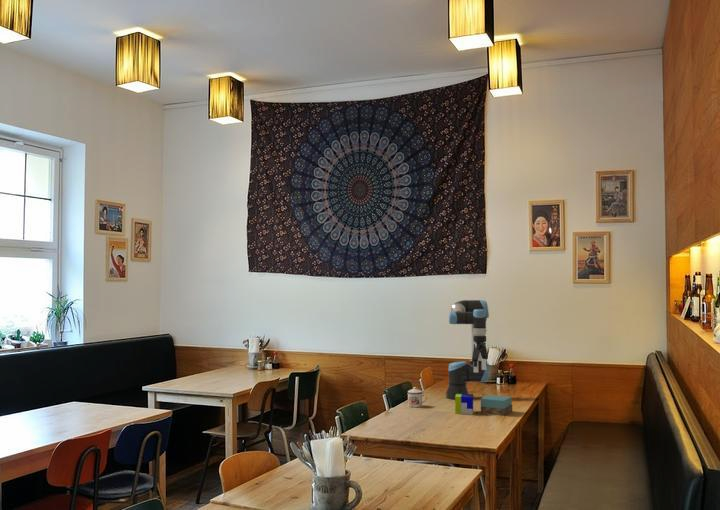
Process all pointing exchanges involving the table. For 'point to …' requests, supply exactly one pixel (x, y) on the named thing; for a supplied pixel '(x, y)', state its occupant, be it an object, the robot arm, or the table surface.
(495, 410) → the base block
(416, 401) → the teacup with lid
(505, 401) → the top block
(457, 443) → the table surface
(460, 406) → the puzzle toy
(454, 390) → the robot arm
